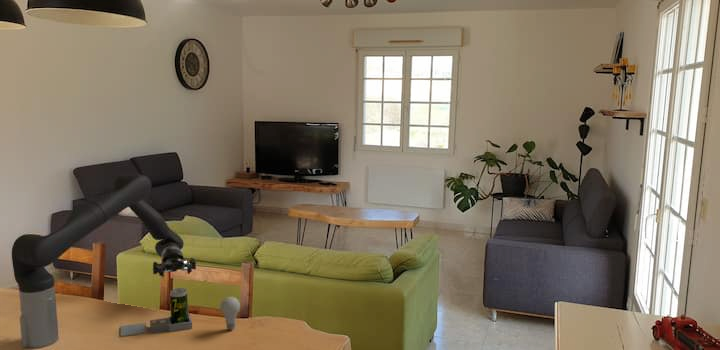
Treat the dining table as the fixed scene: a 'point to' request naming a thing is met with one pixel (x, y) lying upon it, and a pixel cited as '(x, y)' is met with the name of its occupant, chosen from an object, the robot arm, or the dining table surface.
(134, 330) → the slate mat
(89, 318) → the dining table surface
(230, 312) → the lightbulb
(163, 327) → the grey button tray
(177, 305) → the beer can
